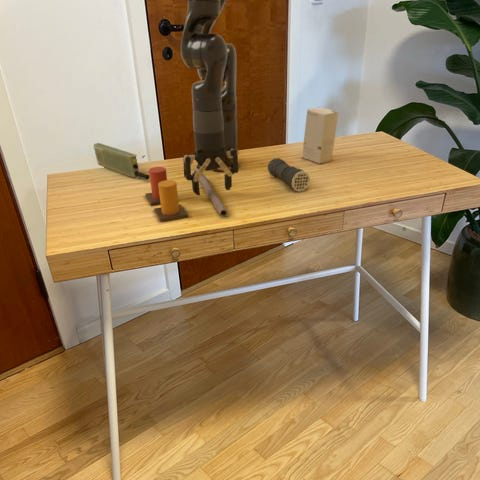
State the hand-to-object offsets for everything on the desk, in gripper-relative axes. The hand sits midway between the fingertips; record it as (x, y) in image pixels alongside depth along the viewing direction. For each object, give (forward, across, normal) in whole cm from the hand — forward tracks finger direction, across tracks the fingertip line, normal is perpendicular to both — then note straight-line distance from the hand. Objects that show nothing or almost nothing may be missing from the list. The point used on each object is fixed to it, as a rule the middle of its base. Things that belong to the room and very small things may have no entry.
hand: (212, 191), depth 123 cm
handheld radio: (+2, +19, -31) cm, 36 cm away
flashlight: (+2, -23, -1) cm, 23 cm away
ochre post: (+2, +13, +6) cm, 15 cm away
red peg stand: (+2, +13, -5) cm, 14 cm away
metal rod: (+2, 0, 0) cm, 2 cm away
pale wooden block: (+2, -41, -16) cm, 44 cm away
